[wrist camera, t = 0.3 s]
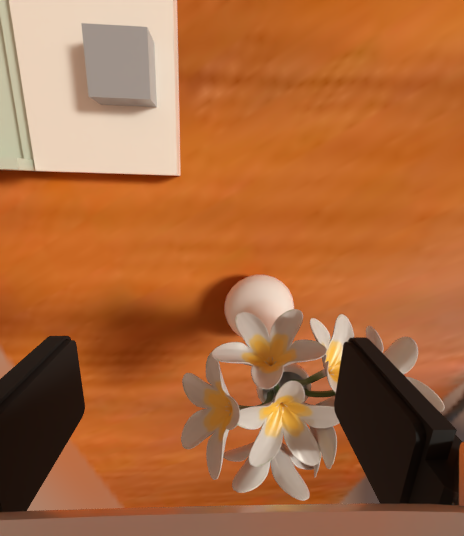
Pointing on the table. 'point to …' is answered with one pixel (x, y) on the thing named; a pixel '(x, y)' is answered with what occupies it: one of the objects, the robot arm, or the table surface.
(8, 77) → the box
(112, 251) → the table surface
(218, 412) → the flower vase
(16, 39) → the plate
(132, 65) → the grey square block
